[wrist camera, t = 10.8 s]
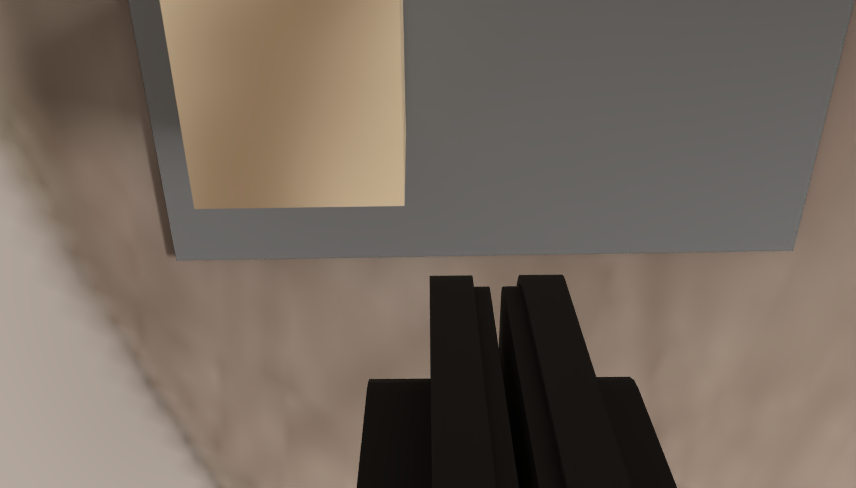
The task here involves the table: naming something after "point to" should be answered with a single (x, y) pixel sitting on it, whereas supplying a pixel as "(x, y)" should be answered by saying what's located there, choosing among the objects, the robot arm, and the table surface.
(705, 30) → the mat
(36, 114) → the table surface
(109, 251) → the table surface
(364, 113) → the cube
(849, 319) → the table surface
